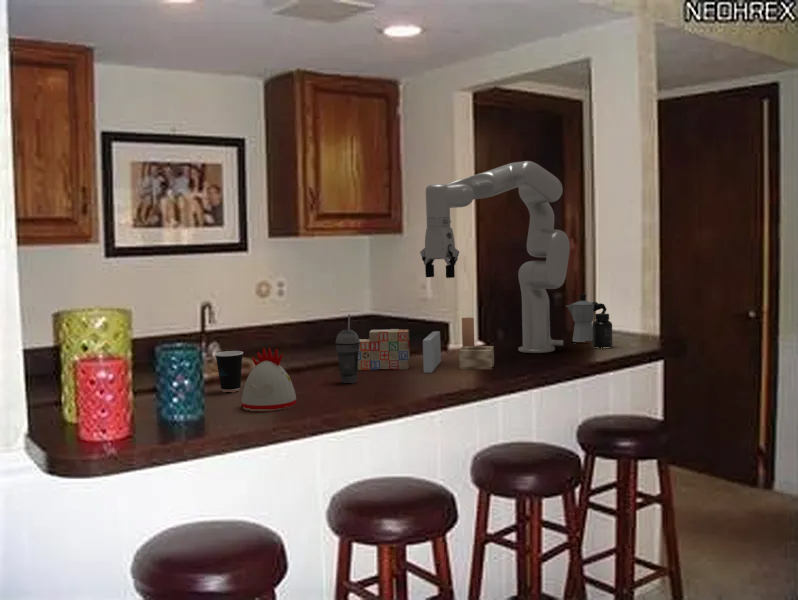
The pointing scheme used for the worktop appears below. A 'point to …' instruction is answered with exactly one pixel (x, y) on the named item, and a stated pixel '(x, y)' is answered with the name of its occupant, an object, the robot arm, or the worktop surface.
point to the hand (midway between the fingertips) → (440, 277)
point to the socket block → (476, 357)
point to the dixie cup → (229, 369)
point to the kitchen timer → (268, 384)
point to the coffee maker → (584, 318)
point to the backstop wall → (431, 352)
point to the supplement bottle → (602, 331)
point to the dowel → (467, 331)
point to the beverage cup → (348, 354)
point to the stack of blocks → (384, 350)
